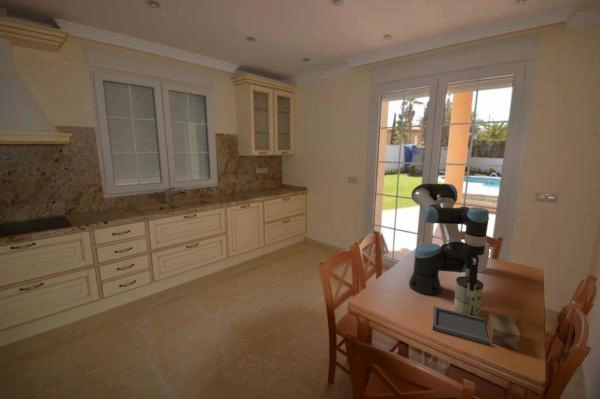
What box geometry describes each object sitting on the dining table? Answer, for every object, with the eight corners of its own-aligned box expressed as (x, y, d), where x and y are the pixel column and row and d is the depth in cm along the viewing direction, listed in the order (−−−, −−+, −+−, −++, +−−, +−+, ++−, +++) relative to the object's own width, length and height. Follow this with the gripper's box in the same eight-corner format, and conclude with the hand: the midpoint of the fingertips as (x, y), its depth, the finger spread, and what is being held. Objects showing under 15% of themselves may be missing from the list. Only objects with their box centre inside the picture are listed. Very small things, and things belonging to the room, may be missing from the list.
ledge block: (491, 342, 101) (493, 328, 100) (487, 325, 111) (489, 312, 110) (517, 350, 97) (520, 335, 96) (511, 331, 107) (513, 318, 106)
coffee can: (456, 301, 128) (459, 273, 126) (481, 309, 122) (485, 281, 119) (450, 310, 121) (453, 282, 118) (477, 320, 114) (481, 290, 111)
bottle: (462, 269, 161) (467, 228, 156) (468, 263, 169) (473, 224, 164) (484, 275, 153) (489, 233, 148) (489, 269, 160) (494, 228, 155)
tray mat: (432, 329, 109) (432, 325, 108) (433, 309, 122) (434, 306, 121) (488, 345, 100) (489, 341, 100) (483, 322, 113) (484, 318, 113)
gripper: (489, 255, 102) (482, 305, 106) (481, 236, 124) (476, 279, 128) (466, 252, 106) (460, 300, 110) (462, 234, 128) (458, 275, 131)
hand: (469, 289), depth 119 cm, fingers open, 13 cm apart
